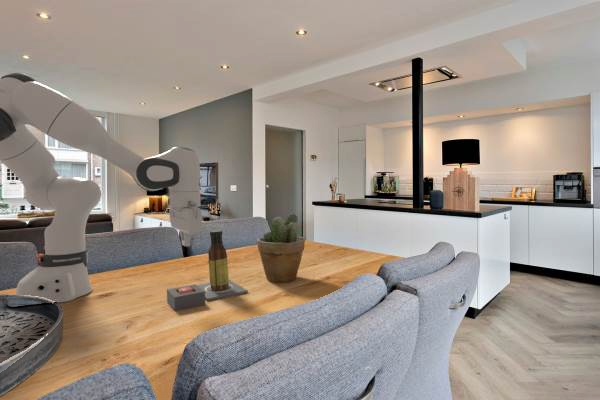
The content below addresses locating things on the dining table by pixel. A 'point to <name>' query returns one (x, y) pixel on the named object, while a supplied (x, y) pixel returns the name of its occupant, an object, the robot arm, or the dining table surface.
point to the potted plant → (281, 250)
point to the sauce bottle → (218, 262)
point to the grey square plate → (222, 291)
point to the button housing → (185, 298)
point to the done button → (185, 290)
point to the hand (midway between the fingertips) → (186, 245)
